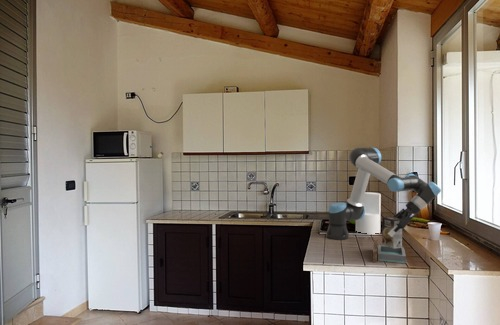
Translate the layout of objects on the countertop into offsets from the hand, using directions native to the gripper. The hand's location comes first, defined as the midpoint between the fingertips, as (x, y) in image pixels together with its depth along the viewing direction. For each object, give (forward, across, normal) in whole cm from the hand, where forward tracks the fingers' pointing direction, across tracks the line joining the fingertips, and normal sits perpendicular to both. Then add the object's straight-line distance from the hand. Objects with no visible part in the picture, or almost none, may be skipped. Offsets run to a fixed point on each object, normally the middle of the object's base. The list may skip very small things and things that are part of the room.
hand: (386, 232), depth 197 cm
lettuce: (+6, +87, -14) cm, 88 cm away
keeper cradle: (+8, 0, -12) cm, 14 cm away
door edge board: (+14, +2, -6) cm, 15 cm away
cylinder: (+8, +61, -12) cm, 62 cm away
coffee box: (+3, 0, -8) cm, 8 cm away
